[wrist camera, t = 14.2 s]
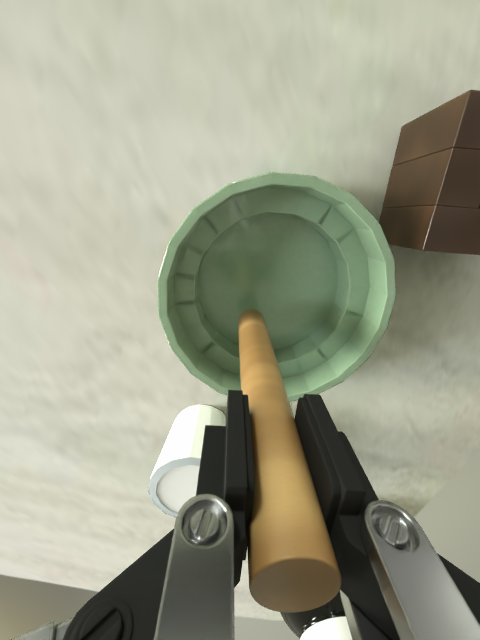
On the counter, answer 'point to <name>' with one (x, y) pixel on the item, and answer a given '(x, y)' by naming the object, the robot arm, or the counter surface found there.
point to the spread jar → (320, 622)
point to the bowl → (278, 281)
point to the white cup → (182, 458)
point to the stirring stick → (281, 490)
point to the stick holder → (437, 181)
